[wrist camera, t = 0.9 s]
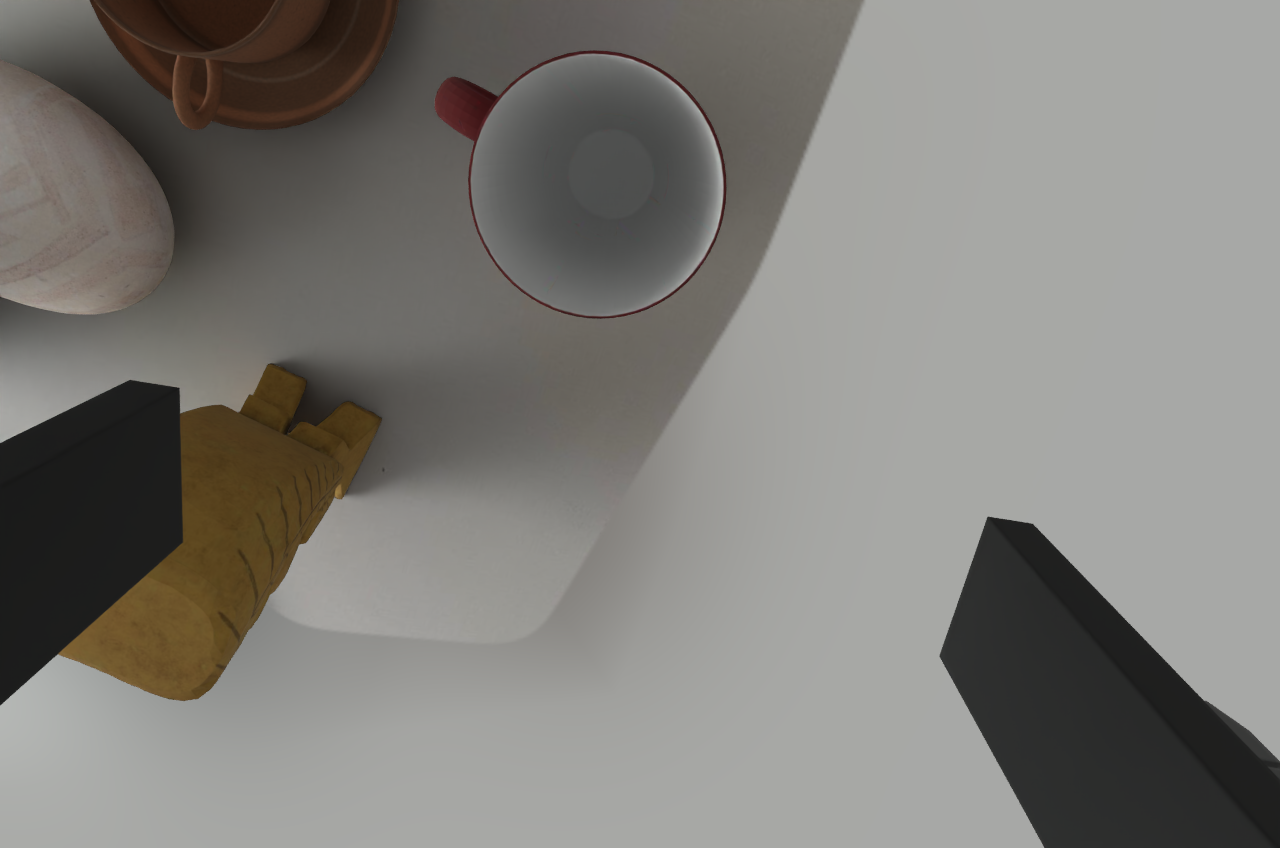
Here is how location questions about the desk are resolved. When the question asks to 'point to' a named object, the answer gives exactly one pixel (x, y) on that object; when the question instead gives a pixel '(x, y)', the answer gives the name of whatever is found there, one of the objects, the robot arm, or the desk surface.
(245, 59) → the cup and saucer
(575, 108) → the mug
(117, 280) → the decorative stone
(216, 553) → the figurine
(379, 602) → the desk surface
